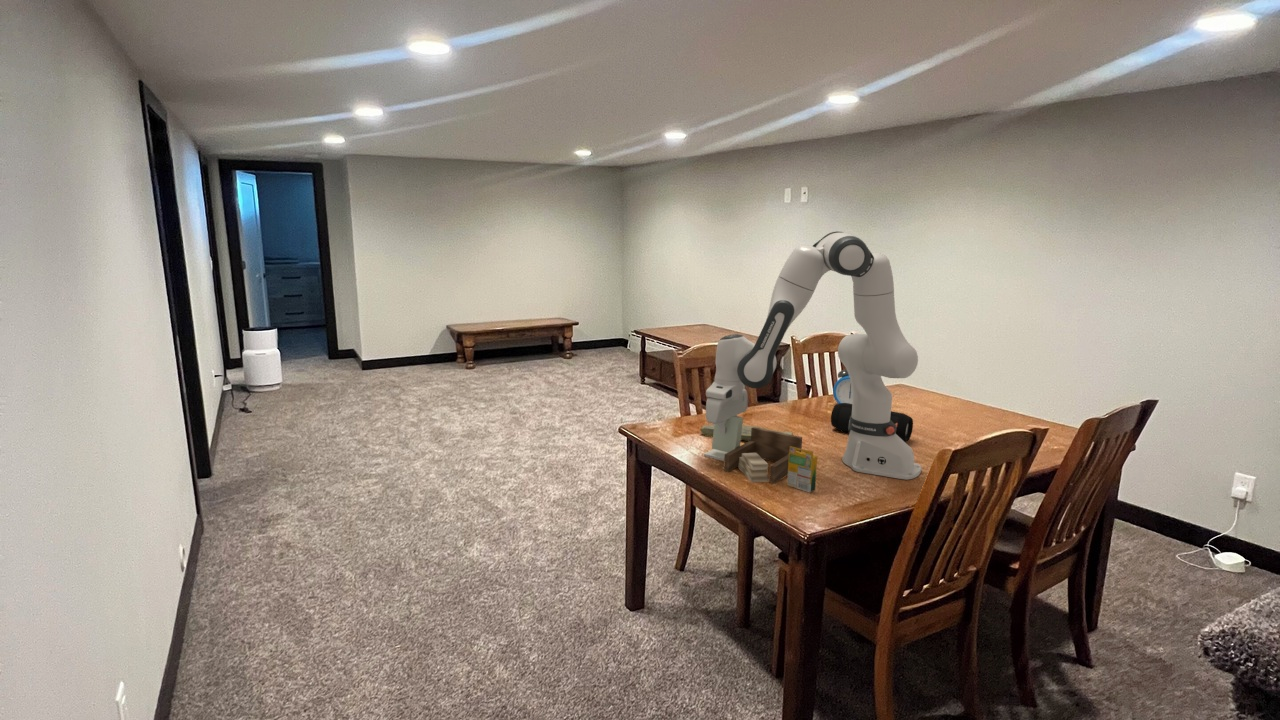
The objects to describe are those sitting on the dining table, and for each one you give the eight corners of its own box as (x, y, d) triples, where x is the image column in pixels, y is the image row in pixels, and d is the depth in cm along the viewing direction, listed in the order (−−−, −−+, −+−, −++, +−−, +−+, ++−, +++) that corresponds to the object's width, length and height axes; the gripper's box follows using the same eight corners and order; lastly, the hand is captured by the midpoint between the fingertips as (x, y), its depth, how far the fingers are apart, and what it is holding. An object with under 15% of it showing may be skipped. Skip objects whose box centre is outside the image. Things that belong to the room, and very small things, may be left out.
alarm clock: (831, 406, 267) (834, 370, 264) (835, 403, 272) (837, 367, 269) (865, 411, 261) (868, 374, 258) (868, 408, 266) (871, 371, 263)
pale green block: (739, 452, 205) (743, 417, 204) (734, 453, 202) (738, 418, 202) (716, 447, 210) (720, 412, 209) (711, 448, 207) (715, 413, 206)
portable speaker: (828, 432, 235) (830, 404, 233) (839, 425, 243) (841, 399, 241) (903, 447, 220) (906, 418, 218) (912, 440, 227) (915, 412, 225)
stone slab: (707, 419, 238) (793, 425, 228) (707, 430, 238) (793, 437, 229) (699, 428, 226) (789, 435, 216) (699, 440, 227) (789, 448, 217)
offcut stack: (768, 482, 188) (769, 464, 187) (751, 483, 187) (752, 465, 186) (754, 467, 200) (755, 450, 198) (738, 468, 199) (739, 451, 198)
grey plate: (747, 456, 208) (747, 454, 208) (735, 464, 201) (735, 461, 201) (716, 449, 214) (716, 447, 214) (703, 456, 208) (704, 453, 208)
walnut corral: (800, 465, 201) (802, 437, 199) (774, 483, 187) (776, 453, 185) (752, 454, 210) (753, 426, 208) (723, 470, 196) (725, 441, 194)
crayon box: (815, 489, 183) (818, 449, 181) (810, 493, 181) (813, 452, 178) (791, 482, 188) (794, 443, 185) (786, 485, 185) (788, 445, 183)
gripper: (735, 380, 213) (733, 421, 216) (702, 391, 197) (700, 436, 200) (753, 383, 210) (751, 425, 212) (721, 395, 193) (719, 441, 196)
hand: (726, 431), depth 206 cm, fingers closed on pale green block, 3 cm apart
